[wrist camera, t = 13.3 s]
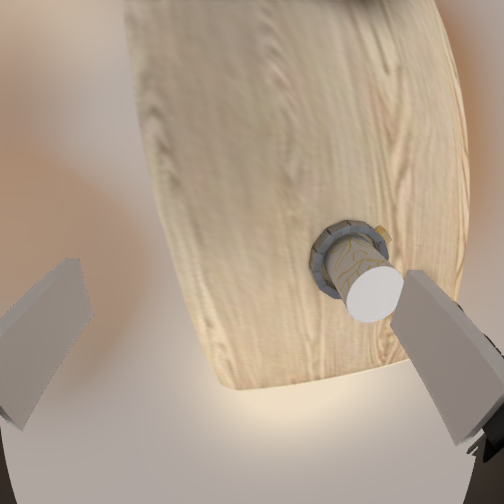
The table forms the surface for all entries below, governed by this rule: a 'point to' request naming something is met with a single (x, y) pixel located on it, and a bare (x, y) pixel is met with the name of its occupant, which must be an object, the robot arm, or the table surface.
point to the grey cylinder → (363, 278)
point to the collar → (338, 231)
